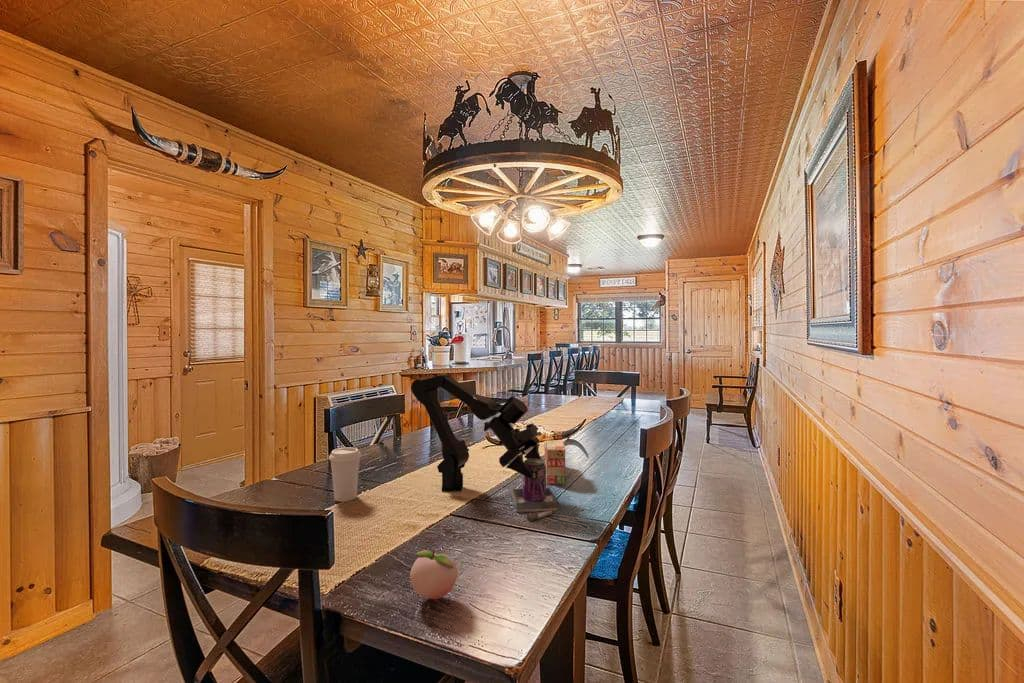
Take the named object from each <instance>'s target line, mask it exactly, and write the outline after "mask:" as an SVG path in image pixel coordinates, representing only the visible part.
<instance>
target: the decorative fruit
mask: <svg viewBox="0 0 1024 683" xmlns="http://www.w3.org/2000/svg"><path fill="white" fill-rule="evenodd" d="M415 556H418V557H416V560H415V561H414V563H412V567H411V570H410V574H409V578H410V583H411V585H412V587H413V590H414V591H415V592H416V593H417V594H418V595H419V596H421V597H423V598H428V599H431V600H437V599H438V600H439V599H442V598H443V597H445V596H446V595H448V594H449V593H450V592H451V591H452V589H453V588H454V587H455V585H456V582H457V578H458V568H457V564H456V562H455V561H454V560H453V559H452V558H451V557H450V556H448V555H446V554H437V553H436V552H435V549H432V551H431V550H428V549H427V550H425V549H424V550H421V551H418V552H416V553H415Z"/></svg>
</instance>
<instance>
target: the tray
mask: <svg viewBox="0 0 1024 683" xmlns="http://www.w3.org/2000/svg"><path fill="white" fill-rule="evenodd" d="M511 499H512V502H513V505H514V509H515V512H517V513H520V512H522V513H524V512H544V511H547V510H552V511H558V508H559V507H558V504H559V503H558V502H559V501H558V499H557V498H556V497H555V495H554V493H553V491H552V489H551V488H550V487H546V499H545V500H543V501H541V502H528V501H526V500H524V499H523V488H511Z"/></svg>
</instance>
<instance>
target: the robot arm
mask: <svg viewBox="0 0 1024 683" xmlns="http://www.w3.org/2000/svg"><path fill="white" fill-rule="evenodd" d="M439 388H442V389H443V390H445V392H447V393H449V394H450V395H452V396H453V397H455V398H456V399H457V400H458V401H461V402H462V403H464V404H465V405H466V406H467V407H468V409H469V410H470V412H471V413H472V414H473V415H474V416H475V417H476V418H477V419H478V420H481V421H485V420H488V419H491V420H489V421H485V422H484V424H483V425H484V427H483V432H487V431H490V430H491V431H492V432H493V434H494V435H495V436H496V438H498V440H499V442H498V444H499V446H502V445H503V446H504V448H505V449H506V451H505V452H504V453H503V454H502V455H501V456H500V457H499V460H498V463H499V464H500V465H501V467H502V468H506V469H510V470H512V471H515V472H516V473H519V474H520V475H522V476H523V475H524V476H526V477H528V478H532V477H533V475H532V473H531V471H530V470H529V468H528V467H527V465H526V464H525V462H524V461H525V460H527V459H533V458H535V459H542V458H541V455H540V452H539V450H540V449H539V448H540V442H541V441H540V439H539V437H537V436H539V433H538V431H539V428H538V427H537V426H536V425H535V424H534V423H533V422H531V423H529V424H527V425H525V426H526V427H525V429H522V430H520V429H519V428H518V427H517V428H514V427H513V425H511V424H514V425H515V424H516V423H517V422H518V421H519V420H521V418H523V417H524V415H525V414H526V413H528V412H529V410H528V409H529V408H528V406H527V405H526V403H525V402H524V401H523V400H522V401H521V400H520V399H519V398H517V397H516V396H515V395H512V396H510V397H509V398H508V399H507V401H506V402H505V403H504V404H500V403H498V402H497V401H496V400H494V399H492V398H490V397H488V396H484V395H480V394H479V393H478V394H477V393H476V392H475V391H473V390H471V389H470V388H468V387H467V386H465V385H464V384H462V383H460V382H459V381H457V380H456V379H455V378H453V377H452V376H451V374H448V373H442V374H437V376H433V377H429V376H428V377H422V378H416V379H414V380H413V381H412V383H411V386H410V391H411V392H412V394H413V396H414V398H415V399H416V401H418V402H419V403H420V404H422V405H423V407H424V408H425V411H426V413H427V415H428V417H429V419H430V422H431V423H432V425H433V427H434V430H435V432H436V434H437V436H438V438H439V440H440V443H441V455H442V461H440V463H439V464H437V466H436V468H437V471H438V473H441V492H461V491H462V488H463V487H464V473H463V472H462V469H463V468H464V467H465V466H466V463H467V462H468V461H469V458H470V453H469V451H470V449H469V448H468V447H467V445H466V441H465V439H461V440H459V439H458V438H457V437H456V436H455V433H454V431H453V429H452V426H451V425H450V422H449V420H448V419H447V417H446V415H445V412H444V411H443V408H442V405H441V404H440V402H439V398H438V397H439V391H438V389H439ZM496 415H498V416H496ZM524 458H525V460H524Z"/></svg>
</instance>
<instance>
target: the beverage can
mask: <svg viewBox="0 0 1024 683" xmlns="http://www.w3.org/2000/svg"><path fill="white" fill-rule="evenodd" d="M523 461H524V462H525V464H526V465H527V467H528V468H529V470H530V471H531V473H532V475H533V477H532V478H528V477H526V476H524V475H522V489H523V499H524V500H526V501H528V502H541V501H543V500H545V499H546V488H547V479H546V466H545V459H542V458H541V459H535V458H533V459H525V460H523Z"/></svg>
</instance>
